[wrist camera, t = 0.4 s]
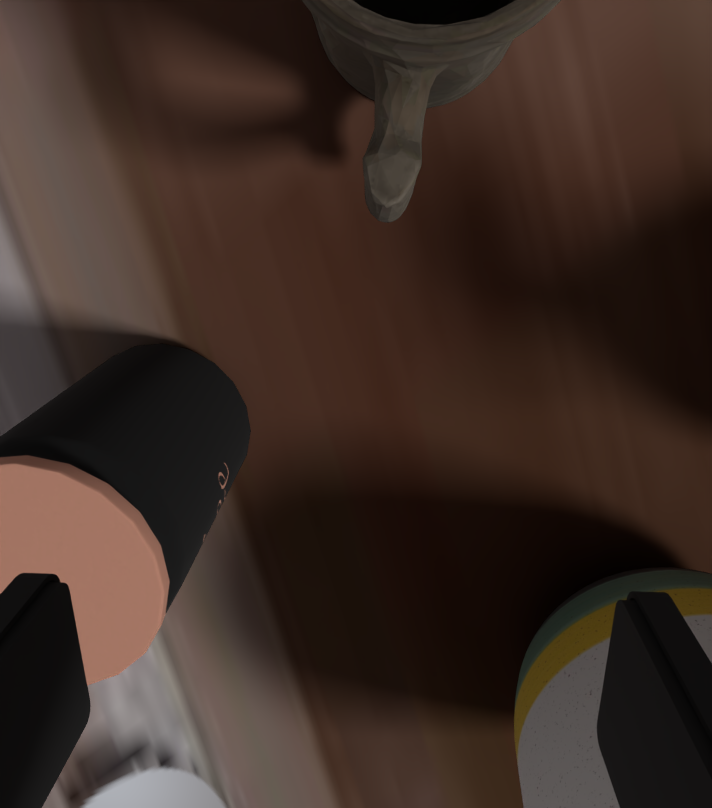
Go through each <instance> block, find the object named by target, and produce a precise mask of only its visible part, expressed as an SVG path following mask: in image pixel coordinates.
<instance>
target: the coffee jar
mask: <svg viewBox="0 0 712 808" xmlns="http://www.w3.org/2000/svg"><path fill="white" fill-rule="evenodd" d="M250 432H251V430H250V425H249V419H248V413H247V408H246V405H245V403H244V401H243V399H242V397H241V395H240V394H239V392H238V390H237V388H236V386H235V384H234V382H233V381H232V380H231V379H230V378H229V377H228V376H227V375H226V374H225V373H224V372H223V371H222V370H221V369H220V368H219V367H218V366H217V365H216V364H215V363H213V362H211V361H210V360H208V359H206V358H204V357H202V356H200V355H199V354H197V353H195V352H193V351H191V350H189V349H184V348H180V347H175V346H170V345H165V344H154V345H144V346H135V347H133V348H131V349H128V350H126V351H124V352H122V353H120V354H118V355H115V356H113V357H111V358H110V359H109V360H107V361H106V362H104V363H103V364H102V365H100V366H99V367H97V368H96V369H95V370H93V371H92V372H90V373H89V374H88V375H86V376H85V377H83V378H82V379H81V380H79V381H78V382H76V383H75V384H74V385H72V386H71V387H69V388H68V389H67V390H65V391H64V392H62V393H61V394H60V395H58V396H57V397H55V398H54V399H53V400H51V401H50V402H48V403H47V404H46V405H44V406H43V407H41V408H40V409H39V410H37V411H36V412H34V413H33V414H32V415H30V416H29V417H27V418H26V419H25V420H23V421H22V422H20V423H19V424H17V425H16V426H15V427H13V428H12V429H10V430H9V431H8V432H6V433H5V434H3V435H2V436H1V437H0V594H1V593H2V592H3V591H4V589H5V588H6V587H7V586H8V585H9V584H10V583H11V582H12V581H13V579H14V578H15V577H16V576H18V575H19V574H21V573H49V574H56V575H57V576H58V577H59V579H60V582H63V583H66V584H67V585H68V586H69V590H70V595H71V600H72V605H73V611H74V616H75V622H76V627H77V633H78V638H79V644H80V649H81V654H82V660H83V665H84V671H85V676H86V682H87V685H89V684H92V683H95V682H98V681H101V680H104V679H107V678H109V677H112V676H115V675H118V674H119V673H121V672H122V671H123V670H124V669H126V668H127V667H128V666H130V665H131V664H132V663H133V662H135V661H136V660H137V659H138V658H140V657H141V656H142V655H143V654H145V653H146V651H147V649H148V648H149V646H150V644H151V642H152V641H153V639H154V637H155V635H156V634H157V632H158V630H159V628H160V627H161V625H162V622H163V619H164V617H165V614H166V612H167V610H168V609H169V607H170V605H171V603H172V601H173V600H174V598H175V596H176V594H177V593H178V591H179V589H180V587H181V586H182V584H183V582H184V580H185V578H186V576H187V574H188V572H189V570H190V568H191V566H192V563H193V561H194V559H195V557H196V555H197V553H198V551H199V549H200V547H201V545H202V543H203V541H204V539H205V537H206V535H207V533H208V531H209V529H210V527H211V525H212V523H213V521H214V519H215V517H216V515H217V513H218V511H219V509H220V507H221V505H222V503H223V501H224V499H225V497H226V495H227V493H228V491H229V489H230V487H231V485H232V483H233V481H234V479H235V477H236V475H237V473H238V471H239V469H240V467H241V465H242V463H243V461H244V459H245V457H246V455H247V450H248V444H249V438H250Z"/></svg>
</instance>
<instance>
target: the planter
mask: <svg viewBox="0 0 712 808" xmlns="http://www.w3.org/2000/svg"><path fill="white" fill-rule="evenodd" d="M631 591H641V592H665V593H668V594H669V595H670V597H671V598H672V600H673V601H674V603H675V604H676V606H677V608H678V609H679V611H680V613H681V614H682V616H683V617H684V619H685V621H686V622H687V624H688V626H689V627H690V629H691V631H692V632H693V634H694V635H695V637H696V639H697V640H698V642H699V644H700V645H701V647H702V648H703V650H704V652H705V653H706V655H707V657H708V658H709V660H710V661H711V663H712V574H710V573H706V572H701V571H696V570H691V569H683V568H672V567H656V568H644V569H636V570H630V571H625V572H621V573H617V574H614V575H611V576H608V577H605V578H603V579H600V580H598V581H596V582H593V583H591V584H589V585H587V586H586V587H584V588H582V589H580V590H579V591H577V592H576V593H574V594H573V595H572V596H570V597H569V598H568V599H566V600H565V601H564V602H563V603H561V604H560V605H559V606H558V607H557V608H556V609H555V610H554V611H553V612H552V613H551V614H550V615H549V616H548V617H547V619H546V620H545V621H544V622H543V624H542V625H541V626H540V628H539V629H538V631H537V632H536V634H535V636H534V637H533V639H532V641H531V642H530V645H529V647H528V649H527V651H526V654H525V657H524V659H523V663H522V666H521V669H520V673H519V678H518V684H517V690H516V696H515V713H514V733H515V746H516V756H517V763H518V770H519V777H520V784H521V791H522V798H523V805H524V808H620V807H619V804H618V801H617V798H616V795H615V792H614V789H613V786H612V783H611V780H610V777H609V774H608V771H607V768H606V766H605V763H604V760H603V757H602V754H601V751H600V748H599V744H598V738H597V719H598V713H599V707H600V700H601V694H602V688H603V682H604V675H605V669H606V663H607V656H608V650H609V644H610V637H611V631H612V625H613V619H614V612H615V607H616V603H617V601H618V600H626V599H627V596H628V594H629V592H631Z"/></svg>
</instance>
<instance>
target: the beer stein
mask: <svg viewBox="0 0 712 808" xmlns="http://www.w3.org/2000/svg"><path fill="white" fill-rule="evenodd" d="M302 1H303V3H304V4H305V5H306V7H307V8H308V9H309V10H310V11H311V13H312V16H313V19H314V22H315V24H316V28H317V31H318V35H319V38H320V41H321V43H322V46H323V48H324V50H325V52H326V54H327V56H328V58H329V60H330V61H331V63H332V64H333V65H334V66H335V68H336V69H337V70H338V71H339V73H340V74H341V75H342V76H343V78H344V79H345V80H346V81H347V82H348V83H349V84H350V85H351V86H353V87H354V88H355V89H357V90H358V91H359V92H361V93H362V94H364V95H365V96H367V97H368V98H370V99H372V100H375V129H374V132H373V135H372V137H371V140H370V143H369V146H368V148H367V151H366V153H365V155H364V157H363V172H364V180H365V199H366V204H367V206H368V208H369V211H370V213H371V214H372V215H373V216H374V217H375V218H376V219H377V220H378V221H382V222H392V221H395V220H397V219H398V218H399V217H400V216H401V215H402V213H403V212H404V211H405V209H406V207H407V205H408V203H409V201H410V198H411V196H412V193H413V189H414V185H415V182H416V178H417V175H418V173H419V170H420V168H421V164H422V145H421V140H422V132H423V124H424V116H425V112H426V108H430V107H435V106H440V105H444V104H447V103H449V102H452V101H454V100H457V99H459V98H461V97H462V96H464V95H466V94H467V93H469V92H470V91H472V90H473V89H474V88H475V87H477V86H478V85H479V84H481V83H482V82H483V81H484V80H485V79H486V78H487V77H488V76H489V75H490V74H491V73H492V72H493V70H494V69H495V68H496V67H497V66H498V65H499V63H500V62H501V60H502V58H503V56H504V55H505V53H506V51H507V50H508V48H509V46H510V44H511V43H512V41H513V39H514V38H516V37H517V36H519V35H520V34H522V33H524V32H525V31H527V30H528V29H530V28H531V27H533V26H534V25H536V24H537V23H538V22H539V21H540V20H541V19H542V18H543V17H545V16H546V15H547V14H548V13H549V12H550V11H551V10H552V9H553V8H554V7H555V6H556V5H557V4H558V3H559V2H560V1H561V0H302Z"/></svg>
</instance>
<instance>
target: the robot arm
mask: <svg viewBox="0 0 712 808" xmlns="http://www.w3.org/2000/svg"><path fill="white" fill-rule="evenodd" d="M89 714H90V698H89V692H88V687H87V682H86V676H85V671H84V665H83V660H82V654H81V649H80V644H79V638H78V633H77V627H76V622H75V616H74V611H73V605H72V600H71V595H70V590H69V586H68V585H67V584H66V583H63V582H60V579H59V577H58V576H57V575H56V574H49V573H21V574H19V575H18V576H16V577H15V578H14V579H13V581H12V582H11V583H10V584H9V585H8V586H7V587H6V588H5V589H4V591H3V592H2V593H1V594H0V808H42V806H43V804H44V802H45V801H46V799H47V797H48V795H49V793H50V791H51V789H52V788H53V786H54V784H55V782H56V780H57V778H58V777H59V775H60V773H61V771H62V769H63V767H64V765H65V764H66V762H67V760H68V758H69V756H70V754H71V752H72V751H73V749H74V747H75V745H76V743H77V741H78V739H79V738H80V736H81V734H82V732H83V730H84V728H85V726H86V724H87V722H88V718H89ZM597 738H598V744H599V748H600V751H601V754H602V757H603V760H604V763H605V766H606V768H607V771H608V774H609V777H610V780H611V783H612V786H613V789H614V792H615V795H616V798H617V801H618V804H619V807H620V808H712V663H711V661H710V660H709V658H708V657H707V655H706V653H705V652H704V650H703V648H702V647H701V645H700V644H699V642H698V640H697V639H696V637H695V635H694V634H693V632H692V631H691V629H690V627H689V626H688V624H687V622H686V621H685V619H684V617H683V616H682V614H681V613H680V611H679V609H678V608H677V606H676V604H675V603H674V601H673V600H672V598H671V597H670V595H669V594H668V593H665V592H641V591H631V592H629V594H628V596H627V599H626V600H618V601H617V603H616V607H615V612H614V619H613V625H612V631H611V637H610V644H609V650H608V656H607V663H606V669H605V675H604V682H603V688H602V694H601V700H600V707H599V713H598V719H597Z"/></svg>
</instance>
